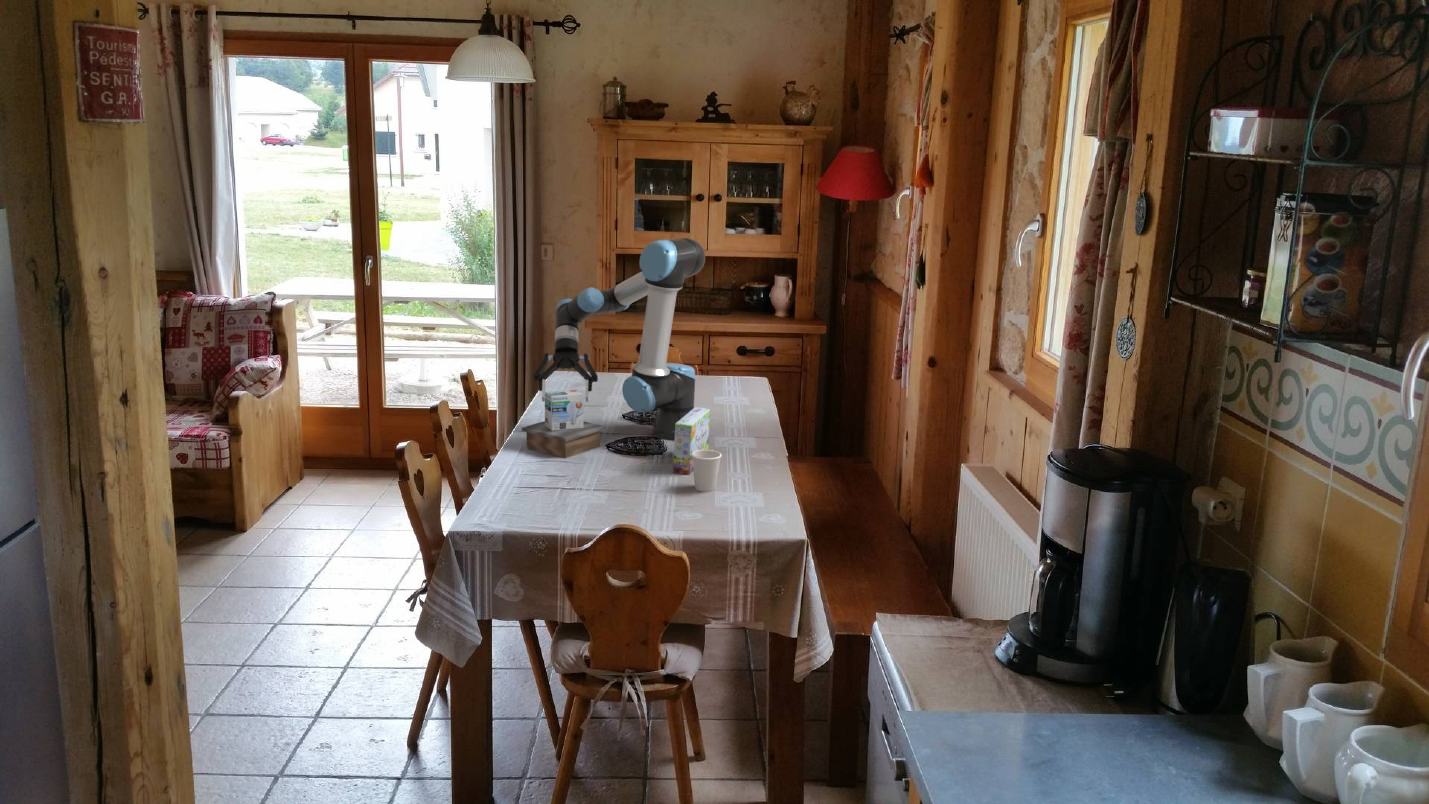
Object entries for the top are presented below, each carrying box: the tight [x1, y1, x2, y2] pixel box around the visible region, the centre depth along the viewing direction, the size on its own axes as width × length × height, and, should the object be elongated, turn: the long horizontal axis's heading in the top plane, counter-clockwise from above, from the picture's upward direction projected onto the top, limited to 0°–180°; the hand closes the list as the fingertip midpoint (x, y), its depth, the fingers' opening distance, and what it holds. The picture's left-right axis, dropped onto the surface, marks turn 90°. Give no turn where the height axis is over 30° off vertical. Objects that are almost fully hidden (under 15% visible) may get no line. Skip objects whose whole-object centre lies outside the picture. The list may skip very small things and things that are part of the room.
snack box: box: [672, 407, 711, 476], centre depth 319 cm, size 21×6×15 cm, turn 166°
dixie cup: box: [691, 449, 722, 493], centre depth 298 cm, size 8×8×10 cm
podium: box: [521, 420, 606, 459], centre depth 332 cm, size 18×18×6 cm
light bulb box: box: [544, 389, 585, 431], centre depth 330 cm, size 11×7×11 cm, turn 119°
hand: (565, 399), depth 339 cm, fingers open, 13 cm apart
